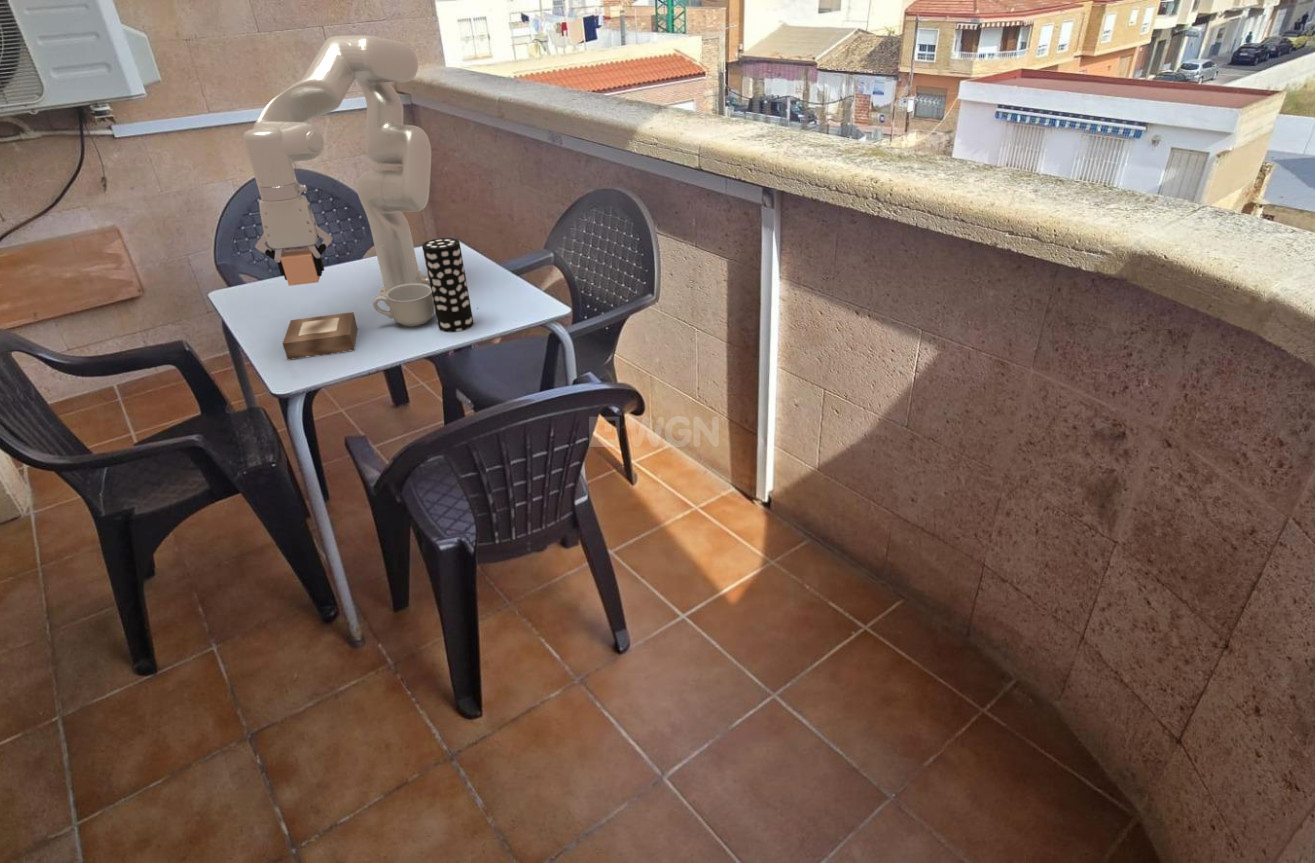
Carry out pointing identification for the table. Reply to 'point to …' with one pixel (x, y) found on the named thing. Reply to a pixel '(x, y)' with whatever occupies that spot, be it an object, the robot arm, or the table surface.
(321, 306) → the table surface
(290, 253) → the cube
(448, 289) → the spotted tube
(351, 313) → the plinth
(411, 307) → the teacup
